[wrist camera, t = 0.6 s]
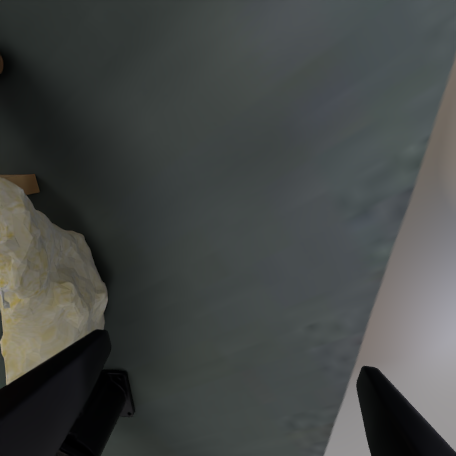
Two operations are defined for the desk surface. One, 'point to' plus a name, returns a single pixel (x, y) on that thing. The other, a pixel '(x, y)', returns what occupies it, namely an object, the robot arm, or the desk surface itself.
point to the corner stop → (24, 182)
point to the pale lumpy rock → (43, 285)
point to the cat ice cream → (1, 64)
